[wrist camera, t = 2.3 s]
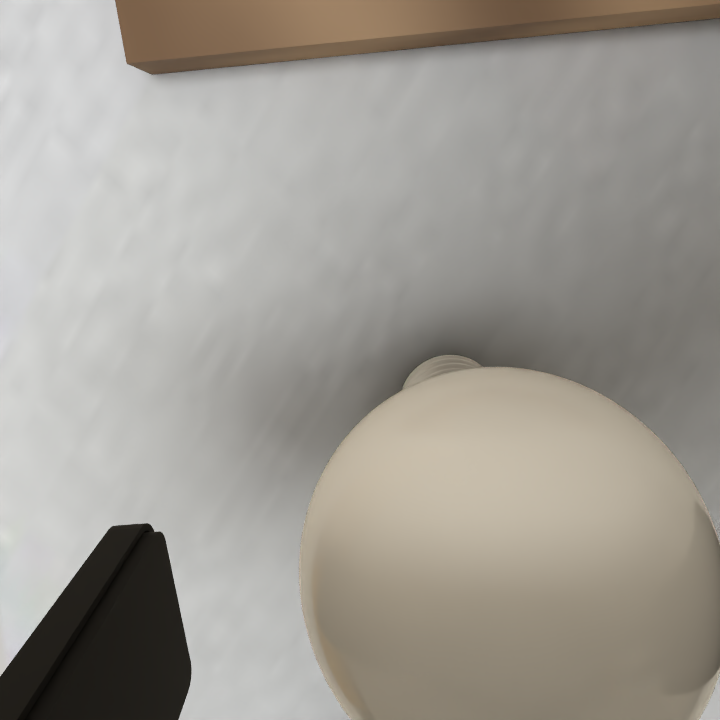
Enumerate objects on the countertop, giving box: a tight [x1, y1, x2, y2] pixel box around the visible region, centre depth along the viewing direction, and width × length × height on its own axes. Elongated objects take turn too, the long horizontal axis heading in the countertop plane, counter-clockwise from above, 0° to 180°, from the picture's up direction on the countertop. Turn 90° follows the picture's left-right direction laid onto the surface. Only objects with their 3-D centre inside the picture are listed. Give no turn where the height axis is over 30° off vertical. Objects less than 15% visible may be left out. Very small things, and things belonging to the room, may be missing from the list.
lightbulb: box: [299, 355, 720, 720], centre depth 12 cm, size 6×6×11 cm
